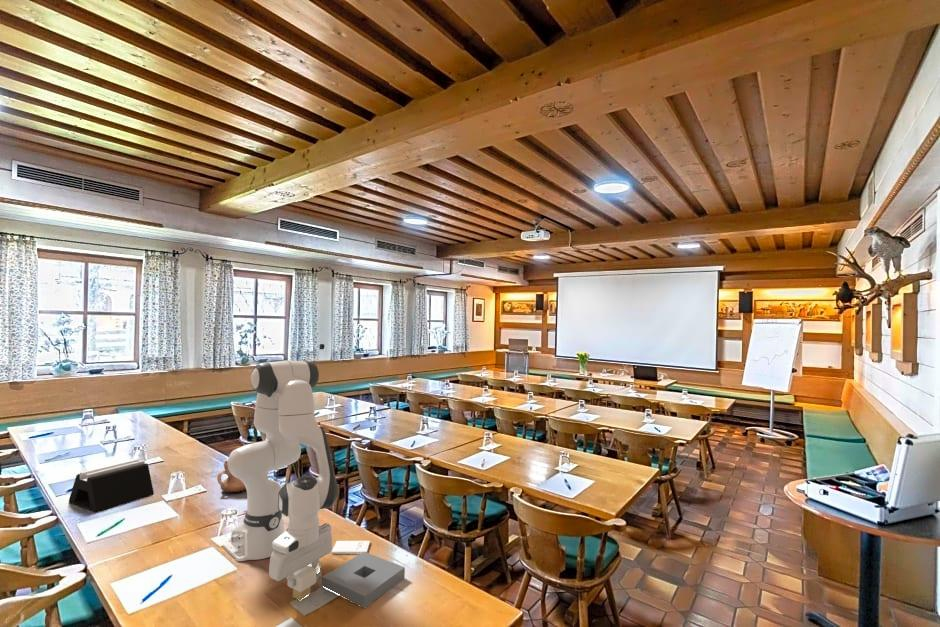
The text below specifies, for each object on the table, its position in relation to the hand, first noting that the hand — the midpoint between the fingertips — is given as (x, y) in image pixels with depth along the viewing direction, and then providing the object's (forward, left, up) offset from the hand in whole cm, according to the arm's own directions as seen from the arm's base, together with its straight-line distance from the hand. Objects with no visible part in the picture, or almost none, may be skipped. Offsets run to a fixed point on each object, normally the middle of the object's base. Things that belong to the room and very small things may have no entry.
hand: (302, 580), depth 131 cm
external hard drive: (-8, +28, -5) cm, 30 cm away
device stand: (-132, 0, -5) cm, 132 cm away
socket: (+11, +15, -5) cm, 19 cm away
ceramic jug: (-96, +37, -5) cm, 103 cm away
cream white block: (0, 0, -5) cm, 5 cm away
